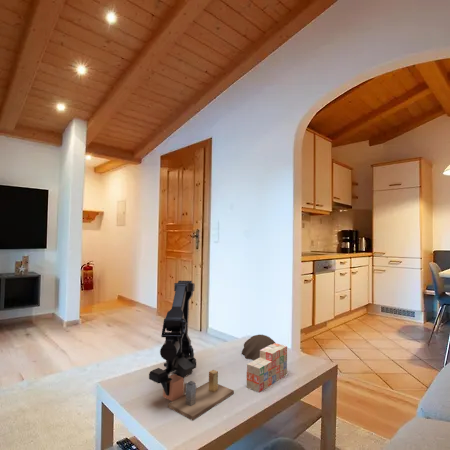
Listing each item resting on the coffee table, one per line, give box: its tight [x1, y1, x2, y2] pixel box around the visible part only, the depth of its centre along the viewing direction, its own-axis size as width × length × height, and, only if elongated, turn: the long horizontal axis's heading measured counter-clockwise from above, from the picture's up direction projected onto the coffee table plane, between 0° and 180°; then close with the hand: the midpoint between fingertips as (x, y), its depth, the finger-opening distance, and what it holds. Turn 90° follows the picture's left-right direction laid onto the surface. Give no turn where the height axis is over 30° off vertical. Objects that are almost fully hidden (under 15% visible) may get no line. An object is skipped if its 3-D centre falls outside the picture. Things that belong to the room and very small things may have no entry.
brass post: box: [208, 369, 219, 393], centre depth 117 cm, size 2×2×8 cm
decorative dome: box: [241, 334, 276, 361], centre depth 156 cm, size 19×20×10 cm
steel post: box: [185, 380, 197, 406], centre depth 108 cm, size 2×2×8 cm
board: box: [167, 381, 235, 421], centre depth 112 cm, size 12×22×1 cm, turn 141°
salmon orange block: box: [162, 373, 185, 402], centre depth 115 cm, size 5×5×7 cm
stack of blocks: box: [246, 342, 288, 393], centre depth 128 cm, size 21×6×12 cm, turn 139°
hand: (173, 392), depth 115 cm, fingers open, 5 cm apart
